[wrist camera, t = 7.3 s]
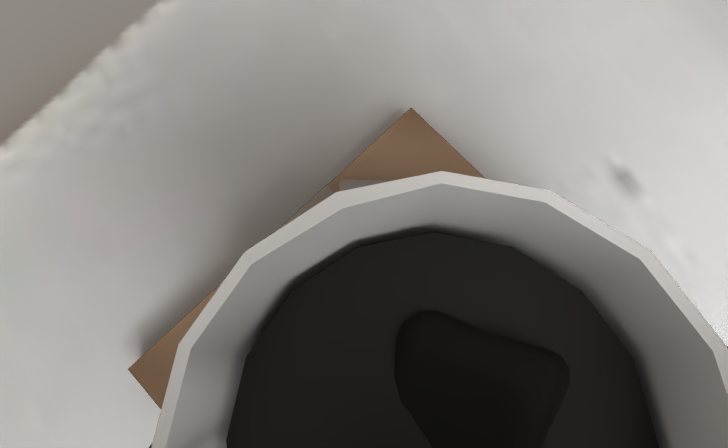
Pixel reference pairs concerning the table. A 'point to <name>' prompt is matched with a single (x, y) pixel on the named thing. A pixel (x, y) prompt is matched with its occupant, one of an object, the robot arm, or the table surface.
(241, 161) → the table surface
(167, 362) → the ring board
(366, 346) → the white cup
